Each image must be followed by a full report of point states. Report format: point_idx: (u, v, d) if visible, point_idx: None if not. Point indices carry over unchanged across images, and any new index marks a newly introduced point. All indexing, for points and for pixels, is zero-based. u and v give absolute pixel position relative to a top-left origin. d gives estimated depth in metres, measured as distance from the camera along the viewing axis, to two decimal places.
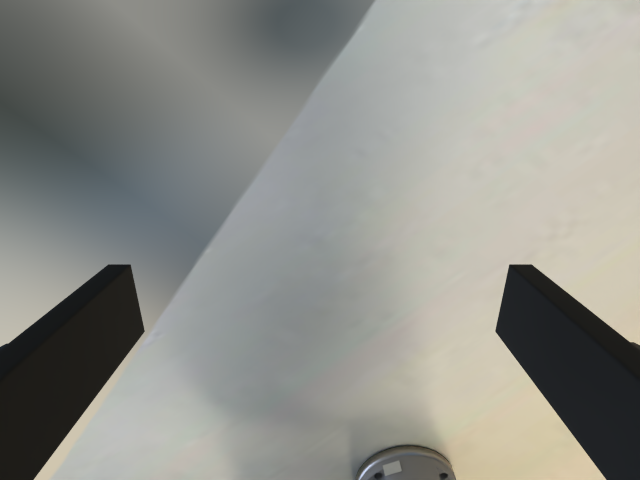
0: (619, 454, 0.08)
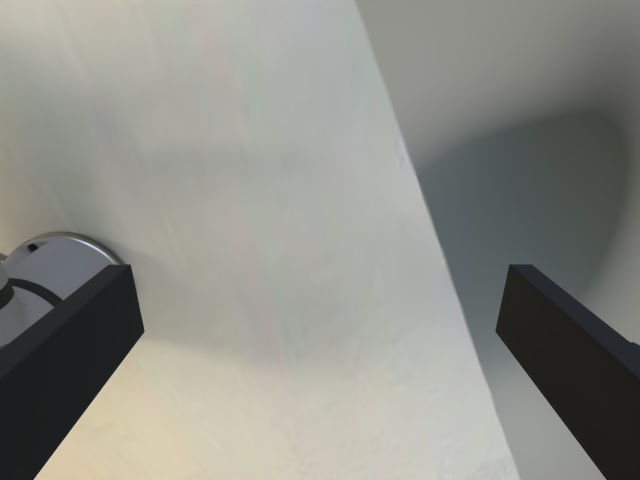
0: (619, 455, 0.08)
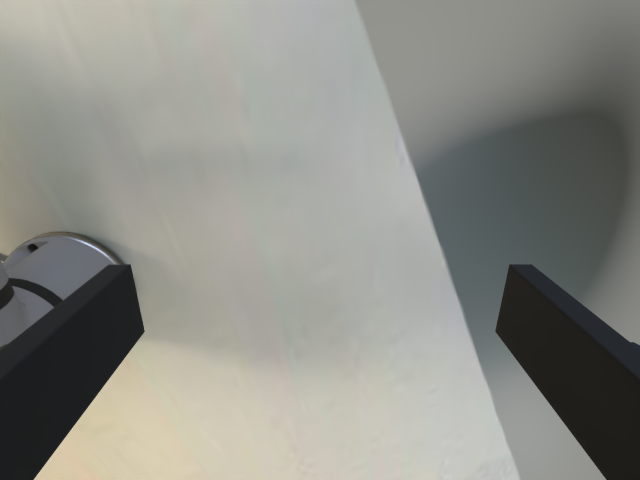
0: (619, 455, 0.08)
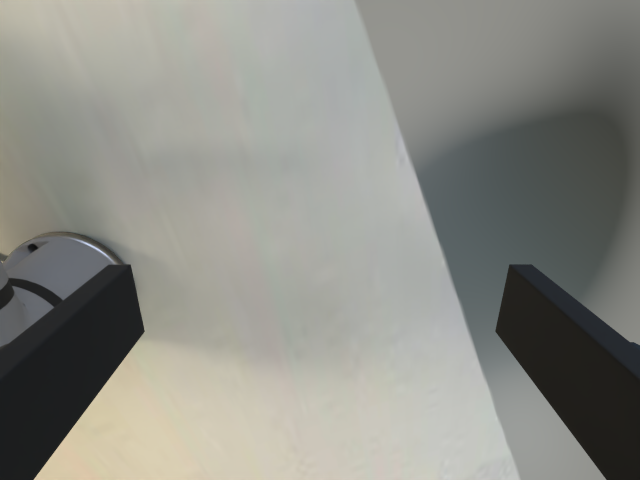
0: (619, 455, 0.08)
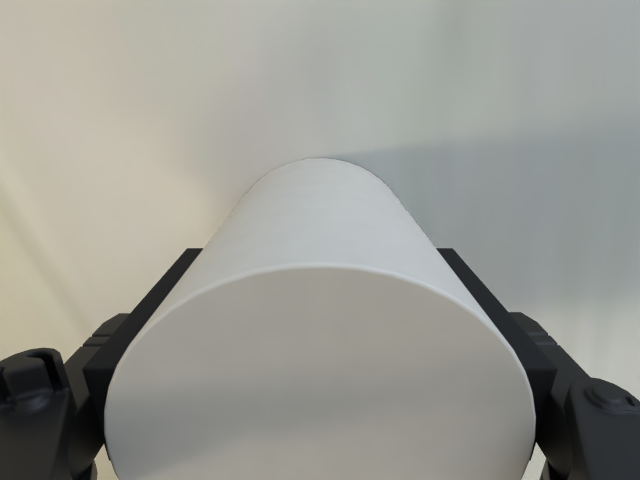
0: None
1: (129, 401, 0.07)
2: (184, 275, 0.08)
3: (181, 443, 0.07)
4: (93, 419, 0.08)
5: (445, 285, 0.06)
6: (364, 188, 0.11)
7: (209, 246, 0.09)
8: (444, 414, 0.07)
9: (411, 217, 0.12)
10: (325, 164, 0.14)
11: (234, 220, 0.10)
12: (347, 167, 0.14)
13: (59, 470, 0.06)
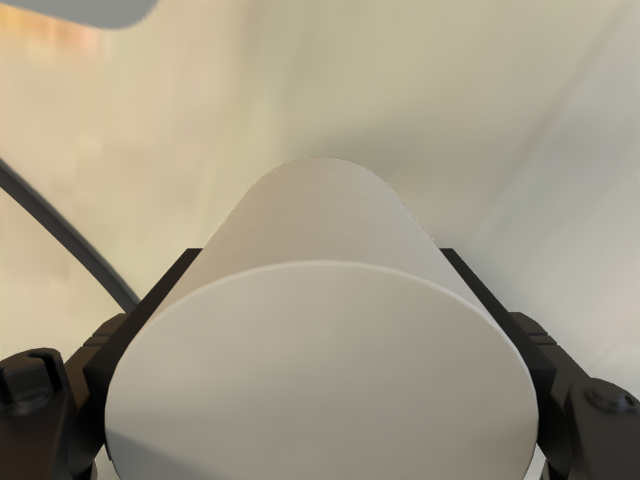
0: None
1: (130, 399, 0.07)
2: (185, 273, 0.08)
3: (182, 442, 0.07)
4: (93, 419, 0.08)
5: (448, 283, 0.06)
6: (365, 187, 0.11)
7: (210, 244, 0.09)
8: (447, 413, 0.07)
9: (412, 216, 0.12)
10: (326, 163, 0.14)
11: (235, 218, 0.10)
12: (348, 166, 0.14)
13: (59, 470, 0.06)
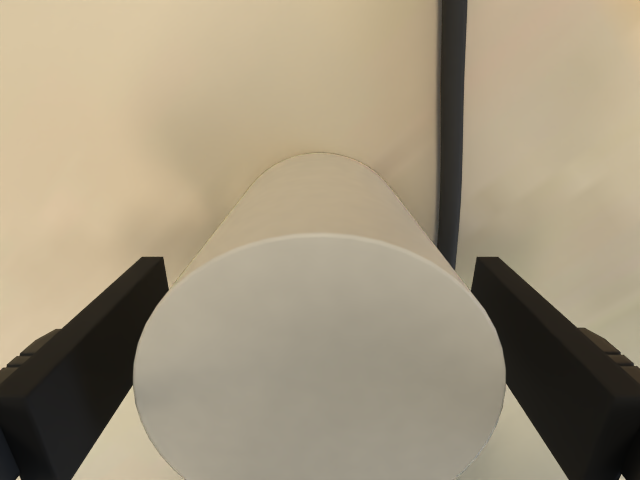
0: (561, 429, 0.08)
1: (155, 355, 0.08)
2: (200, 251, 0.09)
3: (199, 394, 0.08)
4: (2, 451, 0.07)
5: (426, 254, 0.07)
6: (360, 178, 0.12)
7: (221, 227, 0.10)
8: (427, 367, 0.08)
9: (403, 205, 0.13)
10: (324, 158, 0.15)
11: (242, 206, 0.11)
12: (345, 160, 0.15)
13: None
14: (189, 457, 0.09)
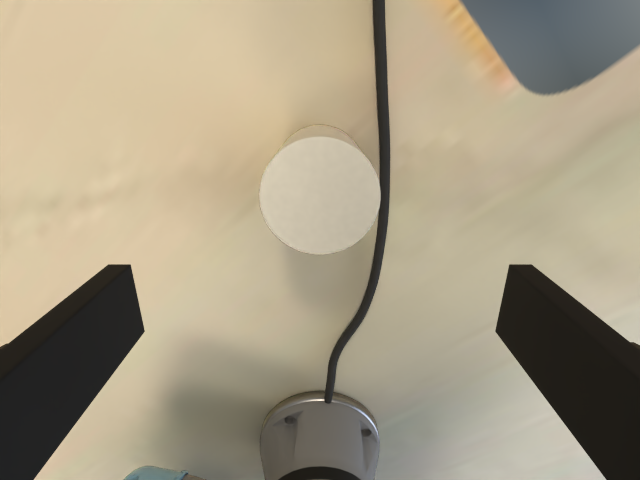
0: (619, 454, 0.08)
1: (268, 178, 0.25)
2: None
3: (280, 194, 0.25)
4: None
5: (352, 144, 0.24)
6: (337, 131, 0.29)
7: (283, 145, 0.27)
8: (354, 183, 0.25)
9: (356, 144, 0.30)
10: (322, 126, 0.32)
11: (289, 140, 0.28)
12: (332, 127, 0.32)
13: None
14: (274, 221, 0.26)
